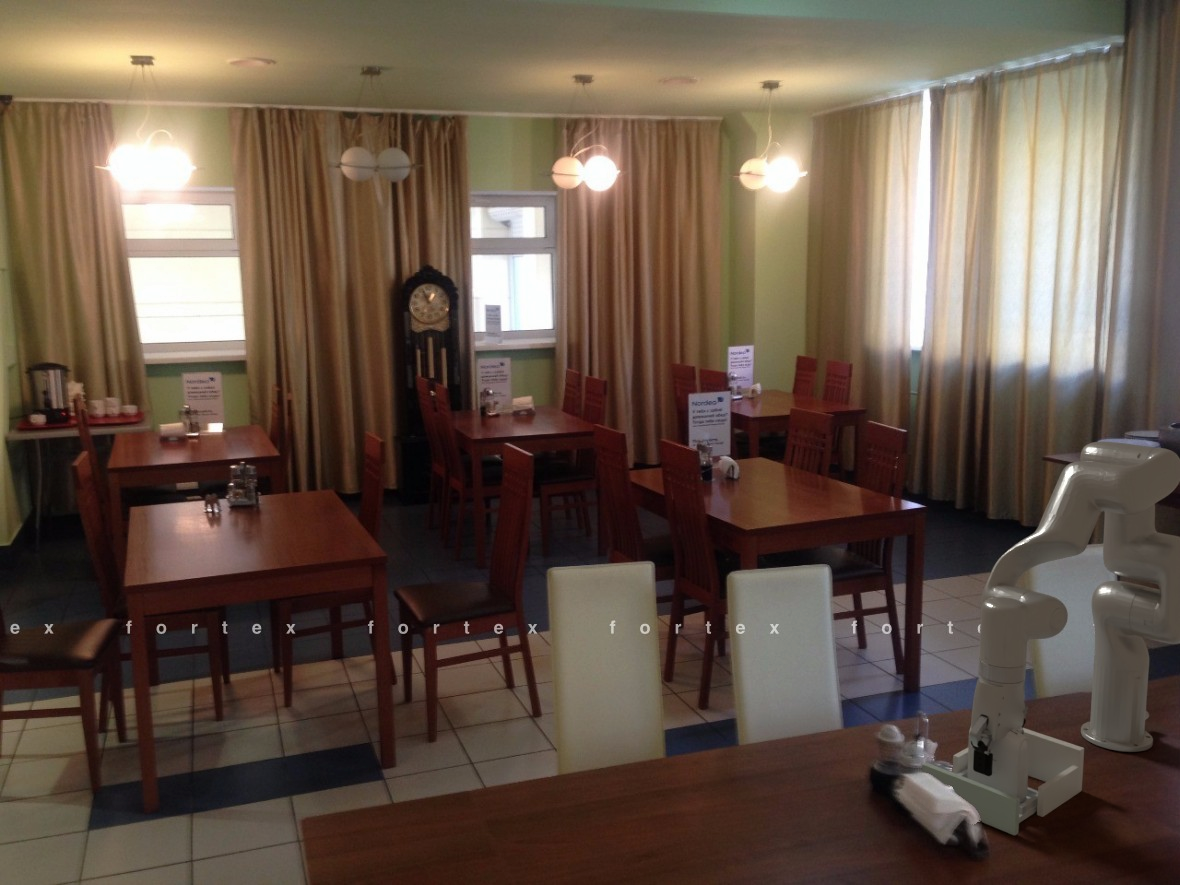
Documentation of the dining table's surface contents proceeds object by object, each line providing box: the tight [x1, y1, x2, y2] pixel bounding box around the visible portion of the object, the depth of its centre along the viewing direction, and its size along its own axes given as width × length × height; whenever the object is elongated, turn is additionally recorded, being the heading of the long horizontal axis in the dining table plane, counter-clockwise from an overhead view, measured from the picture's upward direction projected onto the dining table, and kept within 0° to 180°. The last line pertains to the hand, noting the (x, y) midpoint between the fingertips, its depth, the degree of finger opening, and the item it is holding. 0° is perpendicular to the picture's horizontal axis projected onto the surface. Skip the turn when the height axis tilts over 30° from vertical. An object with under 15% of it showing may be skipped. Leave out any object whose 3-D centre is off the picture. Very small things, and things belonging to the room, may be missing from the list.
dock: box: [952, 727, 1085, 818], centre depth 183 cm, size 14×17×8 cm
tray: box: [921, 762, 1038, 836], centre depth 177 cm, size 14×17×6 cm
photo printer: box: [967, 726, 1029, 803], centre depth 178 cm, size 10×4×12 cm, turn 39°
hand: (997, 764), depth 178 cm, fingers open, 9 cm apart
